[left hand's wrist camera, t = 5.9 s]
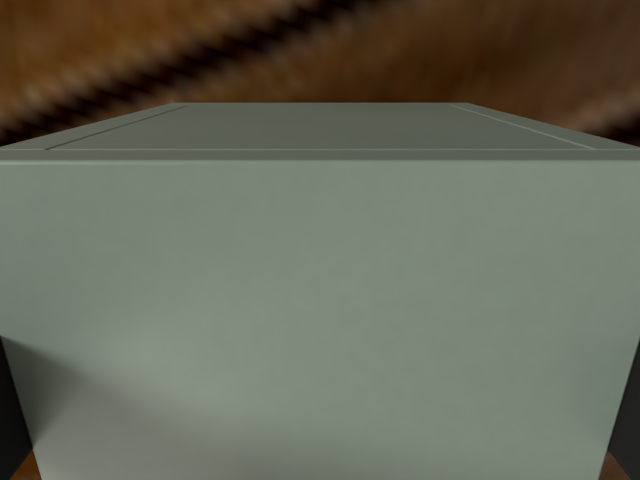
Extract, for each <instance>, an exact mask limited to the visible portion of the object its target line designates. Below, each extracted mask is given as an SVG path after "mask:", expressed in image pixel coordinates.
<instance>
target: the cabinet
mask: <svg viewBox="0 0 640 480" xmlns="http://www.w3.org/2000/svg"><path fill="white" fill-rule="evenodd" d="M0 339H1V343H2V346H3V349H4V353H5V356H6V360H7V363H8V366H9V370H10V373H11V376H12V380H13V383H14V387H15V390H16V393H17V397H18V400H19V403H20V407H21V410H22V414H23V417H24V420H25V424H26V427H27V430H28V434H29V437H30V440H31V444H32V447H33V451H34V454H35V457H36V461H37V464H38V467H39V471H40V474H41V478H42V480H599V477H600V473H601V470H602V467H603V463H604V460H605V456H606V453H607V450H608V446H609V443H610V440H611V436H612V433H613V430H614V426H615V423H616V420H617V416H618V413H619V409H620V406H621V403H622V399H623V396H624V393H625V389H626V386H627V383H628V379H629V376H630V372H631V369H632V366H633V362H634V359H635V356H636V352H637V349H638V346H639V342H640V147H636V146H633V145H629V144H625V143H621V142H617V141H613V140H609V139H605V138H602V137H598V136H594V135H590V134H586V133H582V132H578V131H574V130H571V129H567V128H563V127H559V126H555V125H551V124H547V123H544V122H540V121H536V120H532V119H528V118H524V117H520V116H516V115H513V114H509V113H505V112H501V111H497V110H493V109H489V108H485V107H482V106H478V105H474V104H470V103H170V104H166V105H162V106H158V107H154V108H151V109H147V110H143V111H139V112H135V113H131V114H127V115H123V116H119V117H116V118H112V119H108V120H104V121H100V122H96V123H92V124H88V125H84V126H81V127H77V128H73V129H69V130H65V131H61V132H57V133H53V134H50V135H46V136H42V137H38V138H34V139H30V140H26V141H22V142H18V143H15V144H11V145H7V146H3V147H0Z"/></svg>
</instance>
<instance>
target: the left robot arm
mask: <svg viewBox="0 0 640 480" xmlns="http://www.w3.org/2000/svg"><path fill="white" fill-rule="evenodd" d="M32 449H33V447H32V444H31V440H30V437H29V434H28V430H27V427H26V424H25V420H24V417H23V414H22V410H21V407H20V403H19V400H18V397H17V393H16V390H15V387H14V383H13V380H12V376H11V373H10V370H9V366H8V363H7V360H6V356H5V353H4V349H3V346H2V343H1V339H0V480H10V478H11V477H12V476H13V474H14V473H15V472H16V470H17V469H18V468H19V466H20V465H21V464H22V462H23V461H24V460H25V458H26V457H27V456H28V454H29V453H30V452H31V450H32ZM608 450H609V451H610V452H611V454H612V455H613V456H614V458H615V459H616V460H617V462H618V463H619V464H620V466H621V467H622V468H623V470H624V471H625V472H626V474H627V475H628V476H629V478H630V479H631V480H640V342H639V346H638V349H637V352H636V356H635V359H634V362H633V366H632V369H631V372H630V376H629V379H628V383H627V386H626V389H625V393H624V396H623V399H622V403H621V406H620V409H619V413H618V416H617V420H616V423H615V426H614V430H613V433H612V436H611V440H610V443H609V446H608Z"/></svg>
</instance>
